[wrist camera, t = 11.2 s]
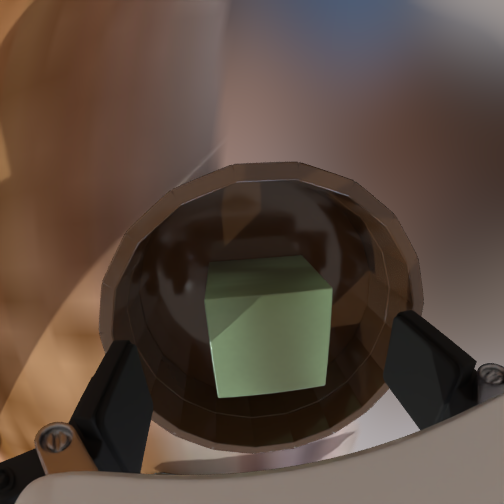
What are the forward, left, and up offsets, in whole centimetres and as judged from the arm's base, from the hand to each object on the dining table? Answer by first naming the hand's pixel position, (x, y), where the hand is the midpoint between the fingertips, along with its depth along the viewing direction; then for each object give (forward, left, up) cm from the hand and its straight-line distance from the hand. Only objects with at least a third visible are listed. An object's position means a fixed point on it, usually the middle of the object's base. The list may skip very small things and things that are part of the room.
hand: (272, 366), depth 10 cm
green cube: (0, 0, -6) cm, 6 cm away
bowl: (0, 0, -6) cm, 6 cm away
